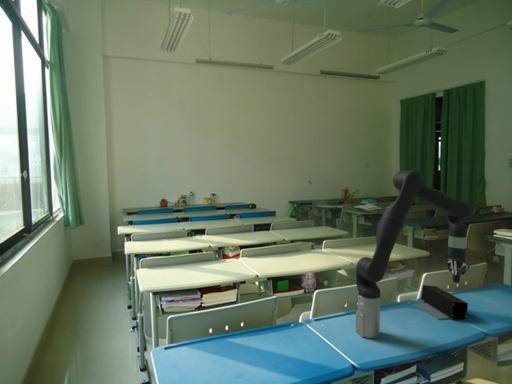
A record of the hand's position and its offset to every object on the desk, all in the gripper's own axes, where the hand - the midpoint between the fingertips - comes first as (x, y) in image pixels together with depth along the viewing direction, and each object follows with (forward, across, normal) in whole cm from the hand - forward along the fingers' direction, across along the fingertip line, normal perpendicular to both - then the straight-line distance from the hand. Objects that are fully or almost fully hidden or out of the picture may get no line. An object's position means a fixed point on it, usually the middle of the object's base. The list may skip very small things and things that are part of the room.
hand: (456, 282), depth 161 cm
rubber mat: (+19, -12, 0) cm, 23 cm away
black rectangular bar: (+14, -1, +3) cm, 15 cm away
